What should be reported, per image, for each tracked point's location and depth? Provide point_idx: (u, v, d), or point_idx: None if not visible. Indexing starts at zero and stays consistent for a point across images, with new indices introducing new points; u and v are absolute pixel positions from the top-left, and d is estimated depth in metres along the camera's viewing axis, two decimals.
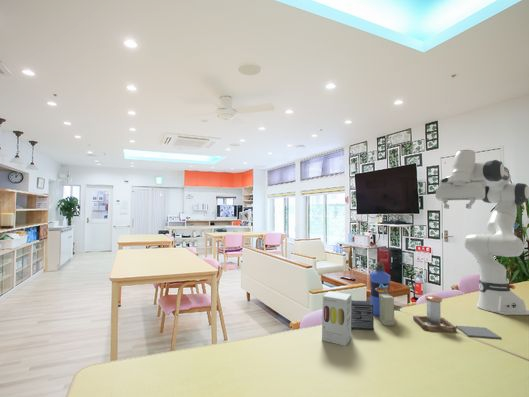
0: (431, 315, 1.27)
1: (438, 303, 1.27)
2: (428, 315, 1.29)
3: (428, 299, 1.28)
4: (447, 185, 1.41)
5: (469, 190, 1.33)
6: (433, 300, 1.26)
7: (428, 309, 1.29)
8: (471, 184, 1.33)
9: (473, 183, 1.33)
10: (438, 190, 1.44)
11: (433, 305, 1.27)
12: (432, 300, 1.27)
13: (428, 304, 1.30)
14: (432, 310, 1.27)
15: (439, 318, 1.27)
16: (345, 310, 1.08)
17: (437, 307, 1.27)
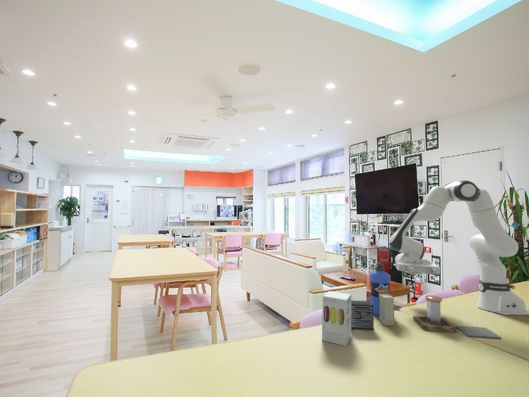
0: (431, 315, 1.27)
1: (438, 303, 1.27)
2: (428, 315, 1.29)
3: (428, 299, 1.28)
4: None
5: None
6: (433, 300, 1.26)
7: (428, 309, 1.29)
8: None
9: None
10: None
11: (433, 305, 1.27)
12: (432, 300, 1.27)
13: (428, 304, 1.30)
14: (432, 310, 1.27)
15: (439, 318, 1.27)
16: (345, 310, 1.08)
17: (437, 307, 1.27)
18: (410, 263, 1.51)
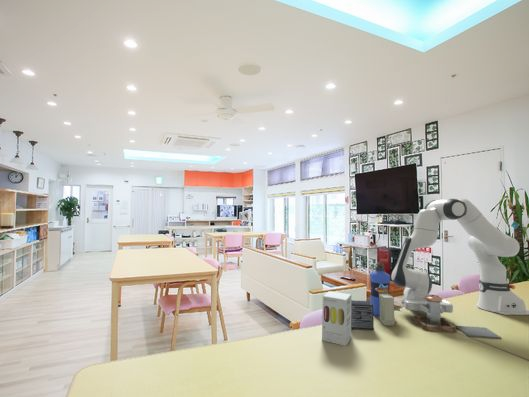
0: (431, 315, 1.27)
1: (438, 303, 1.27)
2: (428, 315, 1.29)
3: (428, 299, 1.28)
4: None
5: None
6: (433, 300, 1.26)
7: None
8: None
9: None
10: None
11: (433, 305, 1.27)
12: (432, 300, 1.27)
13: (428, 304, 1.30)
14: (432, 310, 1.27)
15: (439, 318, 1.27)
16: (345, 310, 1.08)
17: (437, 307, 1.27)
18: (419, 300, 1.39)
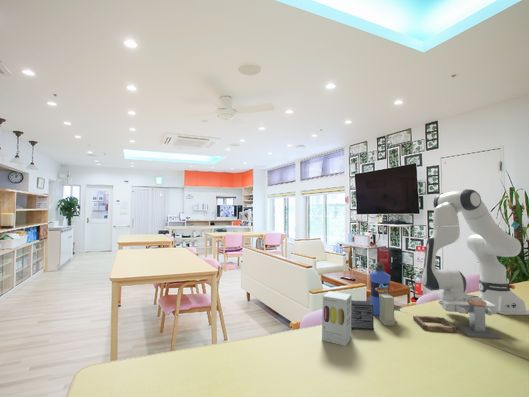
0: (475, 320, 1.20)
1: (483, 307, 1.20)
2: (471, 320, 1.22)
3: (472, 303, 1.21)
4: None
5: None
6: (477, 305, 1.19)
7: (471, 314, 1.22)
8: None
9: None
10: None
11: (477, 310, 1.20)
12: (476, 304, 1.20)
13: (471, 308, 1.23)
14: (476, 315, 1.20)
15: (484, 323, 1.20)
16: (345, 310, 1.08)
17: (482, 312, 1.20)
18: (458, 301, 1.32)
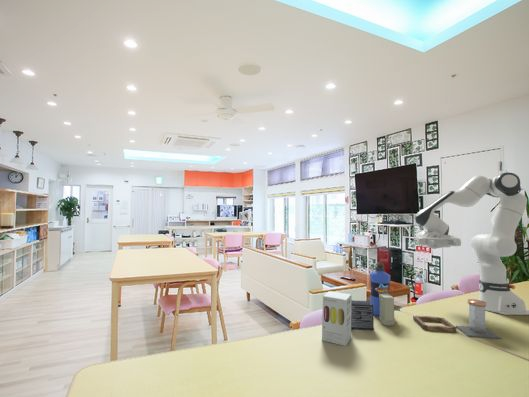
0: (475, 320, 1.20)
1: (483, 307, 1.20)
2: (471, 320, 1.22)
3: (472, 303, 1.21)
4: (444, 245, 1.55)
5: None
6: (477, 305, 1.19)
7: (471, 314, 1.22)
8: None
9: None
10: None
11: (477, 310, 1.20)
12: (476, 304, 1.20)
13: (471, 308, 1.23)
14: (476, 315, 1.20)
15: (484, 323, 1.20)
16: (345, 310, 1.08)
17: (482, 312, 1.20)
18: (430, 237, 1.55)
